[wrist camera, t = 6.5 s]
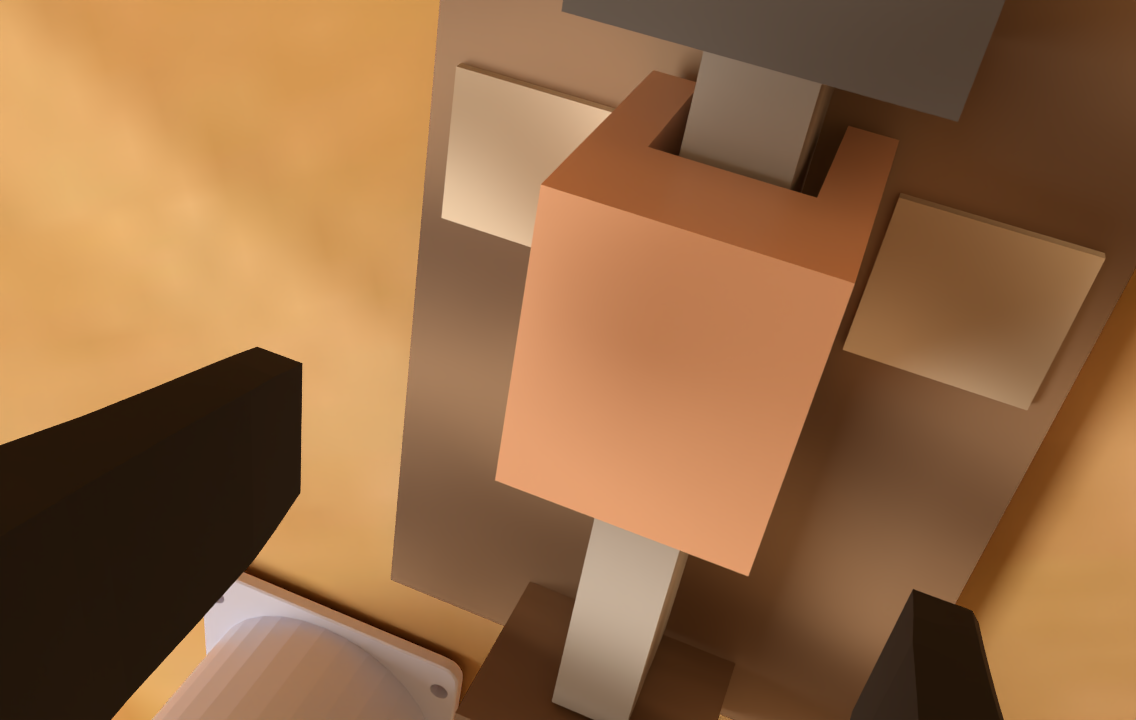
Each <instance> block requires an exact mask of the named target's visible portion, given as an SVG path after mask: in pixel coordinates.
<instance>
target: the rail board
mask: <svg viewBox="0 0 1136 720" xmlns="http://www.w3.org/2000/svg"><path fill="white" fill-rule="evenodd" d="M653 70H655V71H658V72H662V73H666V74H669V75H673V76H676V77H680V78H683V79H687V80H690V81H694V82H696V86H695V90H694V94H693V98H692V103H691V107H690V111H689V116H688V120H687V124H686V128H685V133H684V137H683V141H682V146H681V150H680V154H679V156H680V157H683V158H686V159H690V160H693V161H696V162H700V163H703V164H706V165H710V166H713V167H716V168H720V169H723V170H726V171H729V172H733V173H736V174H739V175H743V176H746V177H749V178H753V179H756V180H759V181H763V182H766V183H769V184H773V185H776V186H779V187H783V188H786V189H789V190H793V191H796V192H799V193H803V194H806V195H809V196H813V197H816V198H817V197H818V194H819V192H820V190H821V188H822V185H823V183H824V181H825V178H826V176H827V174H828V171H829V169H830V167H831V165H832V162H833V160H834V158H835V155H836V153H837V151H838V148H839V146H840V144H841V141H842V139H843V137H844V135H845V132H846V130H847V128H848V126H851V127H855V128H858V129H862V130H865V131H869V132H872V133H876V134H879V135H883V136H886V137H890V138H893V139H897V140H899V143H898V147H897V150H896V153H895V156H894V159H893V163H892V166H891V169H890V172H889V176H888V179H887V182H886V185H885V188H884V192H883V195H882V198H881V201H880V204H879V208H878V211H877V214H876V217H875V221H874V224H873V227H872V230H871V233H870V237H869V240H868V243H867V246H866V250H865V253H864V256H863V259H862V262H861V266H860V269H859V272H858V275H857V278H856V282H855V285H854V287H853V290H852V293H851V296H850V298H849V301H848V304H847V307H846V309H845V312H844V315H843V318H842V320H841V323H840V326H839V329H838V331H837V334H836V337H835V340H834V342H833V345H832V348H831V351H830V353H829V356H828V359H827V362H826V364H825V367H824V370H823V373H822V375H821V378H820V381H819V384H818V386H817V389H816V392H815V395H814V397H813V400H812V403H811V406H810V408H809V411H808V414H807V417H806V419H805V422H804V425H803V428H802V430H801V433H800V436H799V439H798V441H797V444H796V447H795V450H794V452H793V455H792V458H791V461H790V463H789V466H788V469H787V472H786V474H785V477H784V480H783V482H782V485H781V488H780V491H779V493H778V496H777V499H776V502H775V504H774V507H773V510H772V513H771V515H770V518H769V521H768V524H767V526H766V529H765V532H764V535H763V537H762V540H761V543H760V546H759V548H758V551H757V554H756V557H755V559H754V562H753V565H752V568H751V570H750V573H749V576H746V575H743V574H741V573H738V572H735V571H733V570H730V569H727V568H725V567H722V566H719V565H717V564H714V563H712V562H709V561H706V560H704V559H701V558H698V557H696V556H693V555H690V554H688V553H685V552H683V551H680V550H677V549H675V548H672V547H669V546H667V545H664V544H661V543H659V542H656V541H654V540H651V539H648V538H646V537H643V536H640V535H638V534H635V533H632V532H630V531H627V530H625V529H622V528H619V527H617V526H614V525H611V524H609V523H606V522H603V521H601V520H598V519H596V518H593V517H590V516H588V515H585V514H582V513H580V512H577V511H574V510H572V509H569V508H567V507H564V506H561V505H559V504H556V503H553V502H551V501H548V500H545V499H543V498H540V497H538V496H535V495H532V494H530V493H527V492H524V491H522V490H519V489H516V488H514V487H511V486H509V485H506V484H503V483H501V482H498V481H495V477H496V471H497V464H498V458H499V451H500V445H501V438H502V432H503V425H504V419H505V412H506V406H507V400H508V393H509V387H510V380H511V374H512V367H513V361H514V354H515V348H516V341H517V335H518V328H519V322H520V315H521V309H522V302H523V296H524V290H525V283H526V277H527V270H528V264H529V257H530V251H531V244H532V238H533V231H534V225H535V218H536V212H537V205H538V199H539V193H540V186H541V184H542V183H543V182H544V181H545V180H546V179H547V178H548V177H549V176H550V175H551V174H552V173H553V172H554V171H555V170H556V168H557V167H558V166H559V165H560V164H561V163H562V162H563V161H564V160H565V159H566V158H567V157H568V156H569V155H570V154H571V153H572V152H573V151H574V150H575V149H576V148H577V147H578V146H579V145H580V144H581V143H582V142H583V141H584V140H585V139H586V138H587V137H588V136H589V135H590V134H591V133H592V132H593V131H594V130H595V129H596V128H597V127H598V126H599V125H600V124H601V123H602V122H603V121H604V120H605V119H606V118H607V117H608V116H609V115H610V114H611V113H612V112H613V111H614V110H615V109H616V108H617V107H618V106H619V105H620V104H621V103H622V102H623V100H624V99H625V98H626V97H627V96H628V95H629V94H630V93H631V92H632V91H633V90H634V89H635V88H636V87H637V86H638V85H639V84H640V83H641V82H642V81H643V80H644V79H645V78H646V77H647V76H648V75H649V74H650V73H651V72H652V71H653ZM1135 268H1136V0H440V7H439V19H438V30H437V42H436V54H435V66H434V77H433V89H432V101H431V113H430V125H429V136H428V148H427V160H426V172H425V183H424V195H423V207H422V219H421V230H420V242H419V254H418V266H417V277H416V289H415V301H414V313H413V325H412V336H411V348H410V360H409V372H408V383H407V395H406V407H405V419H404V430H403V442H402V454H401V466H400V477H399V489H398V501H397V513H396V525H395V536H394V548H393V560H392V572H391V580H393V581H395V582H398V583H400V584H403V585H405V586H407V587H410V588H412V589H415V590H417V591H420V592H422V593H425V594H427V595H430V596H432V597H434V598H437V599H439V600H442V601H444V602H447V603H449V604H452V605H454V606H456V607H459V608H461V609H464V610H466V611H469V612H471V613H474V614H476V615H478V616H481V617H483V618H486V619H488V620H491V621H493V622H496V623H498V624H500V625H503V626H504V628H503V629H502V631H501V633H500V635H499V636H498V638H497V640H496V642H495V644H494V645H493V647H492V649H491V651H490V652H489V654H488V656H487V658H486V659H485V661H484V663H483V665H482V666H481V668H480V670H479V672H478V674H477V675H476V677H475V679H474V681H473V682H472V684H471V686H470V688H469V689H468V691H467V693H466V695H465V696H464V698H463V700H462V702H461V704H460V705H459V707H458V709H457V711H456V712H455V718H454V720H718V718H719V715H720V714H721V715H723V716H726V717H728V718H731V719H733V720H850V718H851V714H852V711H853V709H854V707H855V705H856V703H857V701H858V698H859V696H860V694H861V692H862V690H863V688H864V686H865V684H866V682H867V680H868V678H869V676H870V674H871V672H872V670H873V668H874V666H875V664H876V662H877V660H878V658H879V656H880V654H881V652H882V650H883V648H884V646H885V644H886V642H887V640H888V638H889V636H890V634H891V632H892V630H893V628H894V626H895V624H896V622H897V620H898V618H899V616H900V614H901V612H902V610H903V608H904V606H905V604H906V602H907V600H908V598H909V596H910V594H911V592H912V590H913V589H915V590H917V591H920V592H923V593H926V594H928V595H931V596H934V597H936V598H939V599H942V600H944V601H947V602H950V603H953V604H955V603H956V601H957V600H958V598H959V596H960V594H961V592H962V590H963V588H964V587H965V585H966V583H967V581H968V579H969V577H970V575H971V573H972V572H973V570H974V568H975V566H976V564H977V562H978V560H979V559H980V557H981V555H982V553H983V551H984V549H985V547H986V546H987V544H988V542H989V540H990V538H991V536H992V534H993V533H994V531H995V529H996V527H997V525H998V523H999V521H1000V520H1001V518H1002V516H1003V514H1004V512H1005V510H1006V508H1007V506H1008V505H1009V503H1010V501H1011V499H1012V497H1013V495H1014V493H1015V492H1016V490H1017V488H1018V486H1019V484H1020V482H1021V480H1022V479H1023V477H1024V475H1025V473H1026V471H1027V469H1028V467H1029V466H1030V464H1031V462H1032V460H1033V458H1034V456H1035V454H1036V452H1037V451H1038V449H1039V447H1040V445H1041V443H1042V441H1043V439H1044V438H1045V436H1046V434H1047V432H1048V430H1049V428H1050V426H1051V425H1052V423H1053V421H1054V419H1055V417H1056V415H1057V413H1058V412H1059V410H1060V408H1061V406H1062V404H1063V402H1064V400H1065V398H1066V397H1067V395H1068V393H1069V391H1070V389H1071V387H1072V385H1073V384H1074V382H1075V380H1076V378H1077V376H1078V374H1079V372H1080V371H1081V369H1082V367H1083V365H1084V363H1085V361H1086V359H1087V358H1088V356H1089V354H1090V352H1091V350H1092V348H1093V346H1094V345H1095V343H1096V341H1097V339H1098V337H1099V335H1100V333H1101V331H1102V330H1103V328H1104V326H1105V324H1106V322H1107V320H1108V318H1109V317H1110V315H1111V313H1112V311H1113V309H1114V307H1115V305H1116V304H1117V302H1118V300H1119V298H1120V296H1121V294H1122V292H1123V291H1124V289H1125V287H1126V285H1127V283H1128V281H1129V279H1130V277H1131V276H1132V274H1133V272H1134V270H1135Z"/></svg>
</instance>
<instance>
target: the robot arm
mask: <svg viewBox="0 0 1136 720" xmlns="http://www.w3.org/2000/svg"><path fill="white" fill-rule="evenodd" d="M301 418H302V363H300V362H297V361H294V360H292V359H289V358H286V357H284V356H281V355H278V354H275V353H273V352H270V351H267V350H265V349H262V348H259V347H255V348H253V349H250V350H247V351H244V352H241V353H239V354H236V355H233V356H231V357H228V358H226V359H223V360H221V361H218V362H216V363H213V364H211V365H208V366H206V367H203V368H201V369H198V370H196V371H194V372H191V373H189V374H186V375H184V376H181V377H179V378H177V379H174V380H172V381H169V382H167V383H164V384H162V385H159V386H157V387H155V388H152V389H150V390H147V391H145V392H142V393H140V394H137V395H135V396H132V397H130V398H127V399H125V400H122V401H119V402H117V403H114V404H112V405H109V406H107V407H104V408H102V409H99V410H97V411H94V412H92V413H89V414H87V415H84V416H81V417H79V418H76V419H73V420H70V421H67V422H65V423H62V424H59V425H56V426H53V427H51V428H48V429H45V430H42V431H39V432H36V433H34V434H31V435H28V436H25V437H22V438H19V439H17V440H14V441H11V442H8V443H5V444H3V445H0V720H111V719H112V718H113V717H114V716H115V714H116V713H117V712H118V711H119V710H120V708H121V707H122V706H123V705H124V704H125V703H126V701H127V700H128V699H129V698H130V697H131V696H132V695H133V694H134V692H135V691H136V690H137V689H138V688H139V687H140V686H141V685H142V684H143V683H144V681H145V680H146V679H147V678H148V677H149V676H150V675H151V674H152V673H153V672H154V670H155V669H156V668H157V667H158V666H159V665H160V664H161V663H162V662H163V661H164V660H165V658H166V657H167V656H168V655H169V654H170V653H171V652H172V651H173V650H174V649H175V647H176V646H177V645H178V644H179V643H180V642H181V641H182V640H183V639H184V638H185V636H186V635H187V634H188V633H189V632H190V631H191V630H192V629H193V628H194V627H195V626H196V624H197V623H198V622H199V621H200V620H201V619H202V618H203V617H204V625H205V641H206V657H205V658H204V659H203V660H202V661H201V663H200V664H199V665H198V666H197V667H196V668H195V670H194V671H193V672H192V673H191V674H190V675H189V677H188V678H187V679H186V680H185V681H184V682H183V684H182V685H181V686H180V687H179V688H178V689H177V691H176V692H175V693H174V694H173V695H172V697H171V698H170V699H169V700H168V701H167V702H166V704H165V705H164V706H163V707H162V708H161V709H160V711H159V712H158V713H157V714H156V715H155V716H154V718H153V719H152V720H454V718H455V712H456V711H457V709H458V706H459V699H460V693H461V686H462V680H463V674H462V671H461V669H460V667H459V666H458V665H457V664H456V663H455V662H454V661H453V660H451V659H449V658H447V657H445V656H442V655H440V654H437V653H435V652H433V651H430V650H428V649H425V648H423V647H421V646H418V645H416V644H414V643H411V642H409V641H406V640H404V639H402V638H399V637H397V636H395V635H392V634H390V633H387V632H385V631H383V630H380V629H378V628H375V627H373V626H371V625H368V624H366V623H364V622H361V621H359V620H356V619H354V618H352V617H349V616H347V615H345V614H342V613H340V612H337V611H335V610H333V609H330V608H328V607H325V606H323V605H321V604H318V603H316V602H314V601H311V600H309V599H306V598H304V597H302V596H299V595H297V594H295V593H292V592H290V591H287V590H285V589H283V588H280V587H278V586H275V585H273V584H271V583H268V582H266V581H264V580H261V579H259V578H256V577H254V576H252V575H249V574H247V573H245V572H244V571H245V570H246V569H247V567H248V566H249V565H250V564H251V563H252V562H253V561H254V559H255V558H256V557H257V555H258V554H259V552H260V551H261V550H262V548H263V547H264V545H265V544H266V543H267V541H268V540H269V538H270V537H271V535H272V534H273V533H274V531H275V530H276V528H277V527H278V525H279V524H280V522H281V521H282V519H283V518H284V516H285V515H286V513H287V512H288V510H289V509H290V507H291V506H292V504H293V503H294V501H295V500H296V498H297V497H298V495H299V494H300V486H301ZM850 720H1004V719H1003V716H1002V712H1001V709H1000V706H999V702H998V699H997V695H996V692H995V688H994V684H993V680H992V677H991V673H990V669H989V665H988V661H987V657H986V653H985V649H984V645H983V641H982V636H981V632H980V627H979V623H978V621H977V619H976V617H975V615H974V613H973V611H972V610H969V609H966V608H963V607H961V606H958V605H955V604H953V603H950V602H947V601H944V600H942V599H939V598H936V597H934V596H931V595H928V594H926V593H923V592H920V591H917V590H915V589H913V590H912V592H911V594H910V596H909V598H908V600H907V602H906V604H905V606H904V608H903V610H902V612H901V614H900V616H899V618H898V620H897V622H896V624H895V626H894V628H893V630H892V632H891V634H890V636H889V638H888V640H887V642H886V644H885V646H884V648H883V650H882V652H881V654H880V656H879V658H878V660H877V662H876V664H875V666H874V668H873V670H872V672H871V674H870V676H869V678H868V680H867V682H866V684H865V686H864V688H863V690H862V692H861V694H860V696H859V698H858V701H857V703H856V705H855V707H854V709H853V711H852V714H851V718H850Z"/></svg>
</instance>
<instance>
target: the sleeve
mask: <svg viewBox="0 0 1136 720" xmlns="http://www.w3.org/2000/svg"><path fill="white" fill-rule="evenodd" d="M695 86H696V82H694V81H690V80H687V79H683V78H680V77H676V76H673V75H669V74H666V73H662V72H658V71H655V70H653V71H652V72H651V73H650V74H649V75H648V76H647V77H646V78H645V79H644V80H643V81H642V82H641V83H640V84H639V85H638V86H637V87H636V88H635V89H634V90H633V91H632V92H631V93H630V94H629V95H628V96H627V97H626V98H625V99H624V100H623V102H622V103H621V104H620V105H619V106H618V107H617V108H616V109H615V110H614V111H613V112H612V113H611V114H610V115H609V116H608V117H607V118H606V119H605V120H604V121H603V122H602V123H601V124H600V125H599V126H598V127H597V128H596V129H595V130H594V131H593V132H592V133H591V134H590V135H589V136H588V137H587V138H586V139H585V140H584V141H583V142H582V143H581V144H580V145H579V146H578V147H577V148H576V149H575V150H574V151H573V152H572V153H571V154H570V155H569V156H568V157H567V158H566V159H565V160H564V161H563V162H562V163H561V164H560V165H559V166H558V167H557V168H556V170H555V171H554V172H553V173H552V174H551V175H550V176H549V177H548V178H547V179H546V180H545V181H544V182H543V183H542V184H541V186H540V193H539V199H538V205H537V212H536V218H535V225H534V231H533V238H532V244H531V251H530V257H529V264H528V270H527V277H526V283H525V290H524V296H523V302H522V309H521V315H520V322H519V328H518V335H517V341H516V348H515V354H514V361H513V367H512V374H511V380H510V387H509V393H508V400H507V406H506V412H505V419H504V425H503V432H502V438H501V445H500V451H499V458H498V464H497V471H496V477H495V481H498V482H501V483H503V484H506V485H509V486H511V487H514V488H516V489H519V490H522V491H524V492H527V493H530V494H532V495H535V496H538V497H540V498H543V499H545V500H548V501H551V502H553V503H556V504H559V505H561V506H564V507H567V508H569V509H572V510H574V511H577V512H580V513H582V514H585V515H588V516H590V517H593V518H596V519H598V520H601V521H603V522H606V523H609V524H611V525H614V526H617V527H619V528H622V529H625V530H627V531H630V532H632V533H635V534H638V535H640V536H643V537H646V538H648V539H651V540H654V541H656V542H659V543H661V544H664V545H667V546H669V547H672V548H675V549H677V550H680V551H683V552H685V553H688V554H690V555H693V556H696V557H698V558H701V559H704V560H706V561H709V562H712V563H714V564H717V565H719V566H722V567H725V568H727V569H730V570H733V571H735V572H738V573H741V574H743V575H746V576H749V573H750V570H751V568H752V565H753V562H754V559H755V557H756V554H757V551H758V548H759V546H760V543H761V540H762V537H763V535H764V532H765V529H766V526H767V524H768V521H769V518H770V515H771V513H772V510H773V507H774V504H775V502H776V499H777V496H778V493H779V491H780V488H781V485H782V482H783V480H784V477H785V474H786V472H787V469H788V466H789V463H790V461H791V458H792V455H793V452H794V450H795V447H796V444H797V441H798V439H799V436H800V433H801V430H802V428H803V425H804V422H805V419H806V417H807V414H808V411H809V408H810V406H811V403H812V400H813V397H814V395H815V392H816V389H817V386H818V384H819V381H820V378H821V375H822V373H823V370H824V367H825V364H826V362H827V359H828V356H829V353H830V351H831V348H832V345H833V342H834V340H835V337H836V334H837V331H838V329H839V326H840V323H841V320H842V318H843V315H844V312H845V309H846V307H847V304H848V301H849V298H850V296H851V293H852V290H853V287H854V285H855V282H856V278H857V275H858V272H859V269H860V266H861V262H862V259H863V256H864V253H865V250H866V246H867V243H868V240H869V237H870V233H871V230H872V227H873V224H874V221H875V217H876V214H877V211H878V208H879V204H880V201H881V198H882V195H883V192H884V188H885V185H886V182H887V179H888V176H889V172H890V169H891V166H892V163H893V159H894V156H895V153H896V150H897V147H898V143H899V140H897V139H893V138H890V137H886V136H883V135H879V134H876V133H872V132H869V131H865V130H862V129H858V128H855V127H851V126H848V128H847V130H846V132H845V135H844V137H843V139H842V141H841V144H840V146H839V148H838V151H837V153H836V155H835V158H834V160H833V162H832V165H831V167H830V169H829V171H828V174H827V176H826V178H825V181H824V183H823V185H822V188H821V190H820V192H819V194H818V197H817V198H816V197H813V196H809V195H806V194H803V193H799V192H796V191H793V190H789V189H786V188H783V187H779V186H776V185H773V184H769V183H766V182H763V181H759V180H756V179H753V178H749V177H746V176H743V175H739V174H736V173H733V172H729V171H726V170H723V169H720V168H716V167H713V166H710V165H706V164H703V163H700V162H696V161H693V160H690V159H686V158H683V157H680V156H679V154H680V150H681V146H682V141H683V137H684V133H685V128H686V124H687V120H688V116H689V111H690V107H691V103H692V98H693V94H694V90H695Z"/></svg>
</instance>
